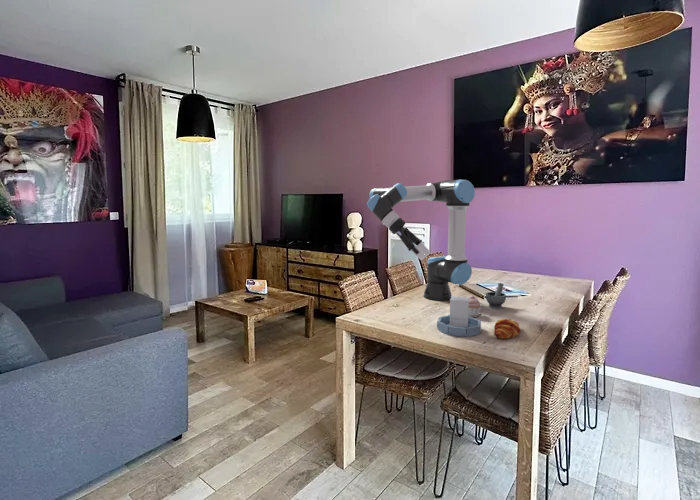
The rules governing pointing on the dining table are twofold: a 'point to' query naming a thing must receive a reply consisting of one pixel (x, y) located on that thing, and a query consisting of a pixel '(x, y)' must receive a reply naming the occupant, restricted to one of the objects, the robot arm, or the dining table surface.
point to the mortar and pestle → (496, 297)
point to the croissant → (506, 328)
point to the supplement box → (459, 311)
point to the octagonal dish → (471, 330)
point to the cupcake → (473, 307)
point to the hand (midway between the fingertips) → (426, 256)
